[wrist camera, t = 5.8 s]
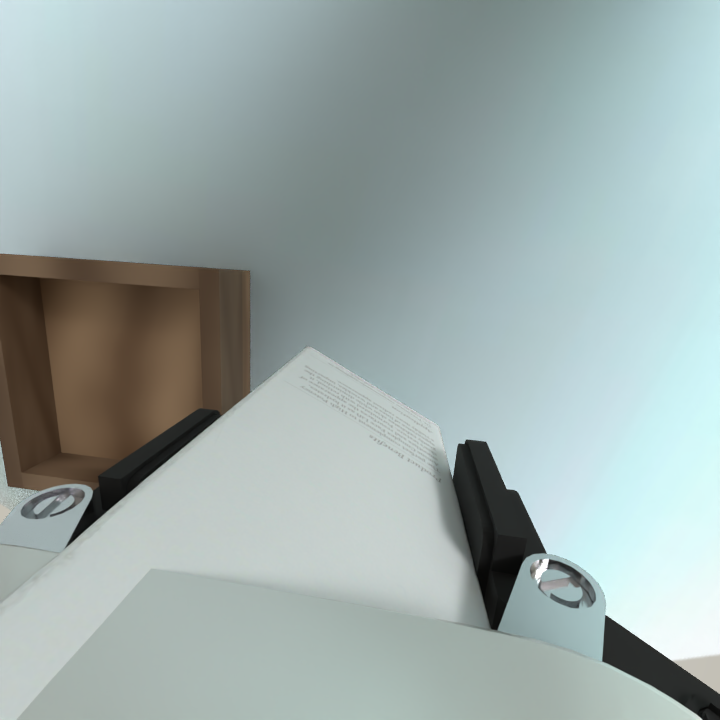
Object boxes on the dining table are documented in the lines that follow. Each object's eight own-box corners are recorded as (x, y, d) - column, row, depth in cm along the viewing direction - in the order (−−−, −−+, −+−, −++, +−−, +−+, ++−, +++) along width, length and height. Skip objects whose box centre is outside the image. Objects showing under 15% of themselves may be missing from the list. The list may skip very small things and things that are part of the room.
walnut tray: (249, 270, 20) (218, 269, 17) (250, 481, 23) (223, 516, 20) (37, 256, 21) (-31, 251, 18) (63, 457, 24) (7, 486, 21)
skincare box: (260, 427, 15) (-286, 1015, 3) (311, 335, 14) (-281, 753, 2) (389, 505, 15) (313, 1350, 3) (452, 421, 14) (687, 1308, 2)
